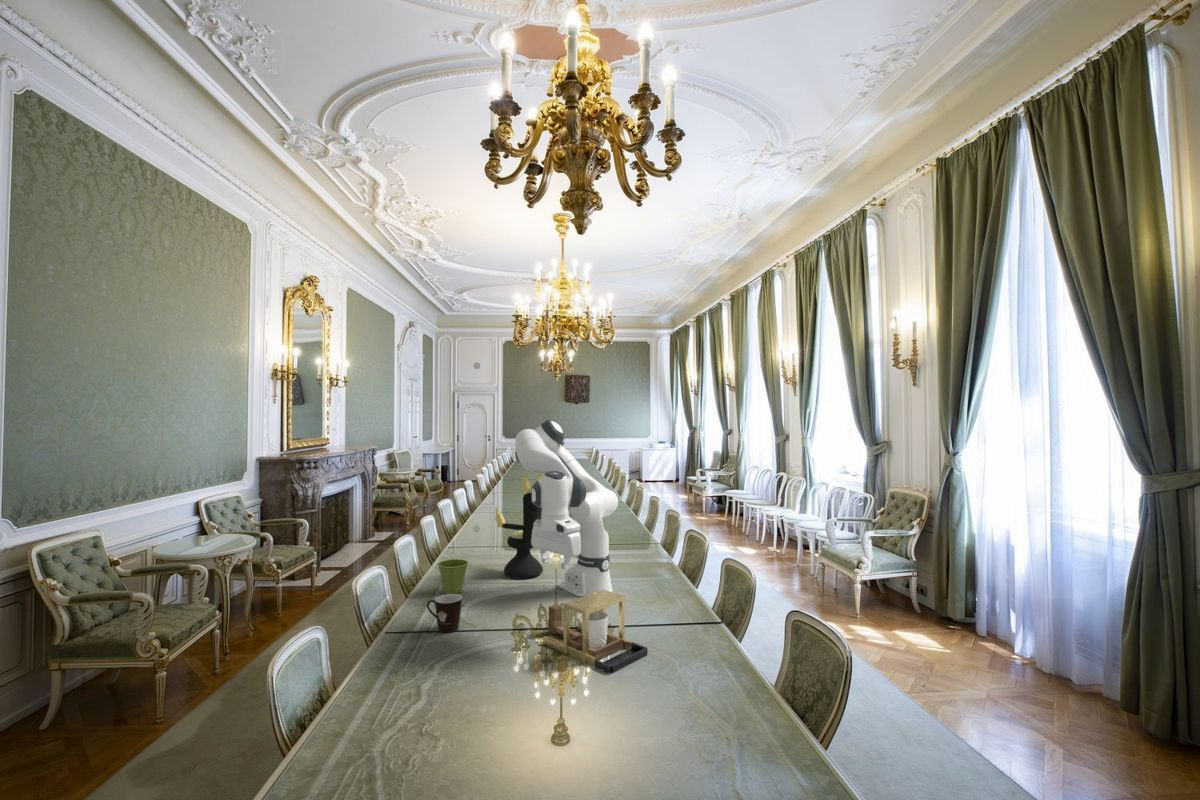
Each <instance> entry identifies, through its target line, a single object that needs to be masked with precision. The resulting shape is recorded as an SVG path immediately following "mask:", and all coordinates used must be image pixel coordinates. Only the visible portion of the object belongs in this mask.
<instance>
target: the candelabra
mask: <svg viewBox="0 0 1200 800" xmlns="http://www.w3.org/2000/svg"><path fill="white" fill-rule="evenodd" d="M544 474H545V473H543V475H544ZM543 475H542V473H537V476H536V479H535V480H534V481H535V482H536V481H537V480H541V479H543ZM535 482H534V483H535ZM521 487H522V488H521V490H522V493H524V494H523V497H522V508H523V509H522V519H523V520H522V521H523V522H522V524H517V523H509V522H506V519H505V517H504V515H503V514H502V513H501V512H500V511H499V510H498V509H497V508H495V522H496V524H497V525H496V527H497V528H503V529H507V530H514V532H513V533H512V534H510V536H508V538H507V540H506V542H507V545H508V547H510V548H512V549H514V550H516V554H515V555H514V557H512V558H511V559H510V560H509V561H508V562H507V563H506V564H505V566H504V568H503V574H504V575H506V576H507V577H508V578H512V579H521V580H522V579H532V578H536V577H538V576H540V575H541V574H542V573H543V571H544V568H543V566H542V563H541V562H540V561H539V560H538V559H537V558H535V557H534V556H533V555H532V553H531V549H535V548H534V547H533V546H532V544H531V538H532V530H533V527H534V522H535V521H536V520H537V519H540V520H541V513H542V509H543V508H539V507H537V506H535V505H534V504H533V503H532V502H531V487H532V486H531V484H530V481H529V480H528V478H527V475H526V473H525V472H524V474H523V477H522V480H521ZM515 530H516V531H515Z"/></svg>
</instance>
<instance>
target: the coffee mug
mask: <svg viewBox="0 0 1200 800" xmlns="http://www.w3.org/2000/svg"><path fill="white" fill-rule="evenodd" d="M462 602H463V596H462V595H460V594H459V593H457V594H446V593H444V594H442V595H438V596H437V597H435V598H434V599H431V600H428V601H427V603H426V608H427V610H428V612H429V613H430V614H431V615H432V616H433V617H434V618H436V622H437V631H438V632H439V633H441V634H452V633H456V632H457V631H458V630H459V628H460V627H459V626H460V618H461V611H462V604H463V603H462ZM430 603H434V605H435V613H434V612H433V611H432V610H431V609H430Z"/></svg>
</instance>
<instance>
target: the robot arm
mask: <svg viewBox="0 0 1200 800" xmlns="http://www.w3.org/2000/svg"><path fill="white" fill-rule="evenodd" d="M564 440H565V435H564V431H563V428H562V426H561V425H560V424H558V422H555V420H552V419H546V420H544V421H543V422H542V423H540V425H539V426H538V427H536V428H535V429H531V428H526V429H522V430H520V431H519V432H518V433H517V434H516V437H515V443H514V444H515V445H514V446H515V452H514V454H515V456H514V457H515V459H516V460H517V462H518V464H519V465H521V466H522V467H523V469H525V470H526V471H528V472H531V473H537V474H539V473H540V474H542V476H543V479H541V480H537V481H536V482H534V483H533V484H532V486H531V491H530V493H531V502H532V503H533V504H534V505H535V506H537V507H539V508H543V509H542V513H541V520H540V519H537V520H536V521H535V522H534V527H533V530H532V538H531V544H532V546H533V547H534V548H533V549H535V548H536V549H538V550H539V551H538V552H539V554H540V558H541V564H545V565H546V564H549V562H550V557H548V555H547V552H549V553H553V554H557V555H561V556H563V559H564V561H563V562H562V563H561V570H562V569H563V570H566V571H565V575H564V580H562V581H560V582H559V583H558V588H559V589H560V588H561V589H562V590H565V591H566V592H568V593H570V594H572V595H575V597H583V596H586V595H589V594H592V593H594V592H597V591H600V590H606V591H610V592H614V591H613V587H612V580H611V574H610V562H611V557H610V556H611V555H610V553H609V552H610V551H609V547H610V545H609V544H610V543H609V542H610V540H609V533H608V531H606V530H605V528H604V523H603V518H604V517H608V516H610V515H611V514H613V513H614V511H616V510H617V508H618V506H619V498H618V496H617V494H616V493H615V492H614V491H613V490H611V489H609V488H607V487H605V486H604V485H602V484H601V483H600V482H599V481H597V480H596V479H594V478H593V477H592V476H591V475H590V474H589V473H588V472H587V471H586V470H585V468H583V466H582V465H581V464H580V463H579V462H578V461H577V459H576V458H575V456H573V454H572V453H571V452H570V451H569V450H568V449H566V447H564V445H565V442H564ZM544 473H545V474H544ZM570 515H571V517H570ZM572 558H573V559H574V558H575V559H577V561H576V563H575V564H573V565H572V566H571V567H569V565H570V562H571V560H572Z"/></svg>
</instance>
